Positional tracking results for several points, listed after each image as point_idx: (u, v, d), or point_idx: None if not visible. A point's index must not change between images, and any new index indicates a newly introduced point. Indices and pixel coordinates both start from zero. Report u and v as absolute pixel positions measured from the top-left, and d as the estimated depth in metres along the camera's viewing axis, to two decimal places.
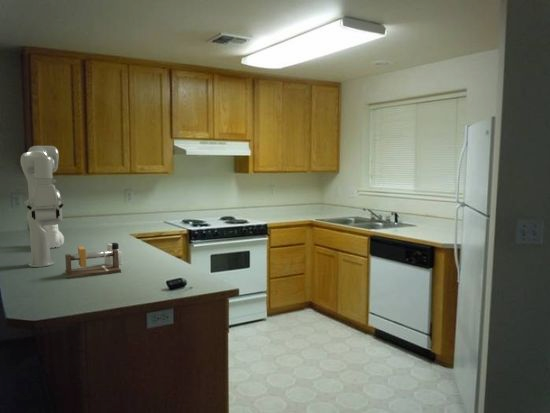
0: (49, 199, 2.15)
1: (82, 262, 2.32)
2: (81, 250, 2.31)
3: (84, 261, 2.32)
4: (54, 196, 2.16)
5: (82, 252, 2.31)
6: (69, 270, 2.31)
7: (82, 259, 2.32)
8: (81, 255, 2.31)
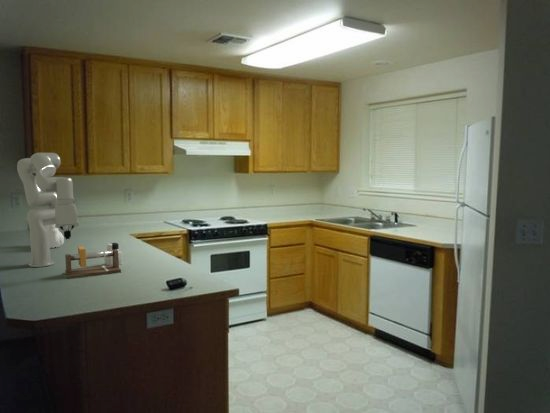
0: (70, 218, 2.29)
1: (82, 262, 2.32)
2: (81, 250, 2.31)
3: (84, 261, 2.32)
4: (75, 215, 2.30)
5: (82, 252, 2.31)
6: (69, 270, 2.31)
7: (82, 259, 2.32)
8: (81, 255, 2.31)
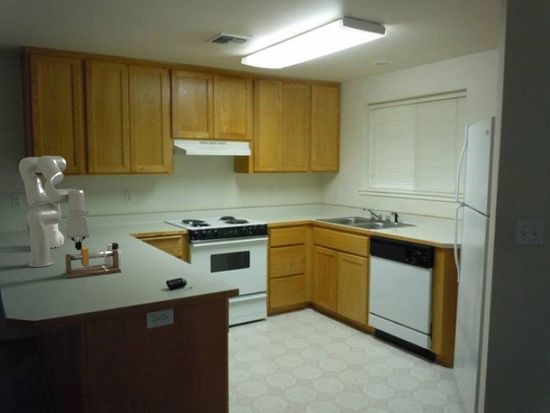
0: (82, 229, 2.32)
1: (85, 262, 2.32)
2: (84, 250, 2.32)
3: (87, 261, 2.33)
4: (86, 226, 2.33)
5: (85, 252, 2.32)
6: (69, 270, 2.31)
7: (85, 259, 2.32)
8: (84, 255, 2.32)
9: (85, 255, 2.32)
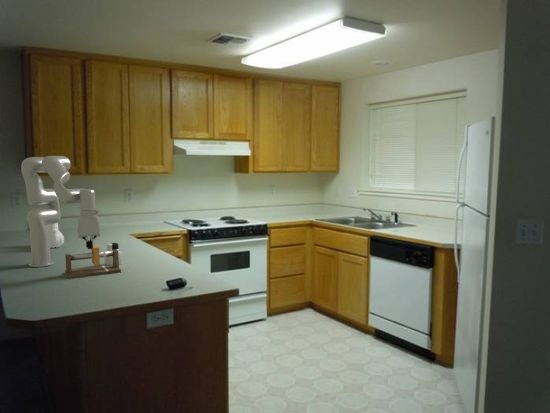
0: (93, 229, 2.35)
1: (96, 261, 2.35)
2: (95, 249, 2.34)
3: (98, 260, 2.35)
4: (97, 226, 2.36)
5: (96, 251, 2.35)
6: (69, 270, 2.31)
7: (96, 258, 2.35)
8: (95, 254, 2.34)
9: (96, 254, 2.35)
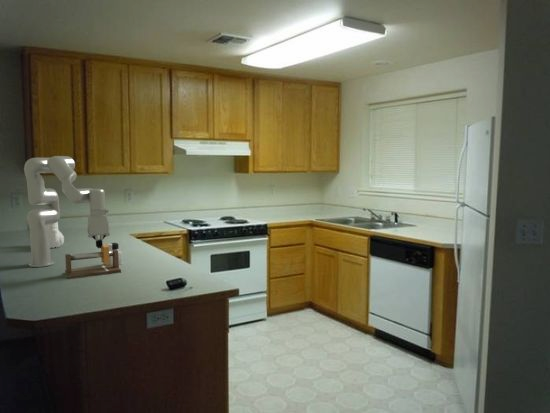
0: (102, 228, 2.37)
1: (105, 259, 2.37)
2: (105, 248, 2.37)
3: (107, 259, 2.38)
4: (107, 225, 2.38)
5: (106, 250, 2.37)
6: (69, 270, 2.31)
7: (105, 257, 2.37)
8: (105, 253, 2.37)
9: (106, 253, 2.37)
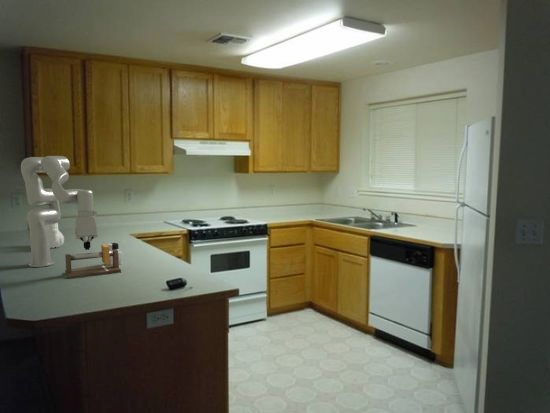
0: (90, 229, 2.35)
1: (106, 259, 2.37)
2: (105, 248, 2.37)
3: (108, 259, 2.38)
4: (95, 226, 2.36)
5: (106, 250, 2.37)
6: (69, 270, 2.31)
7: (106, 257, 2.37)
8: (105, 253, 2.37)
9: (106, 253, 2.37)
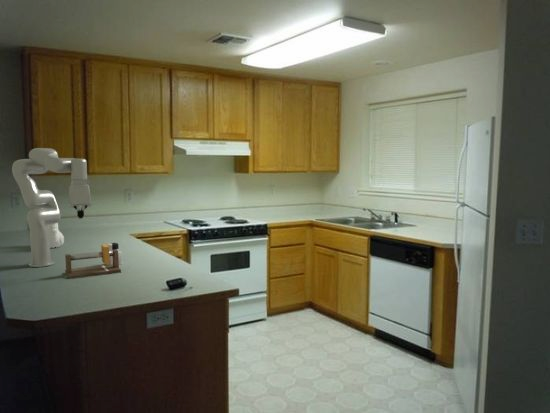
0: (84, 198, 2.36)
1: (106, 259, 2.37)
2: (105, 248, 2.37)
3: (108, 259, 2.38)
4: (88, 195, 2.37)
5: (106, 250, 2.37)
6: (69, 270, 2.31)
7: (106, 257, 2.37)
8: (105, 253, 2.37)
9: (106, 253, 2.37)
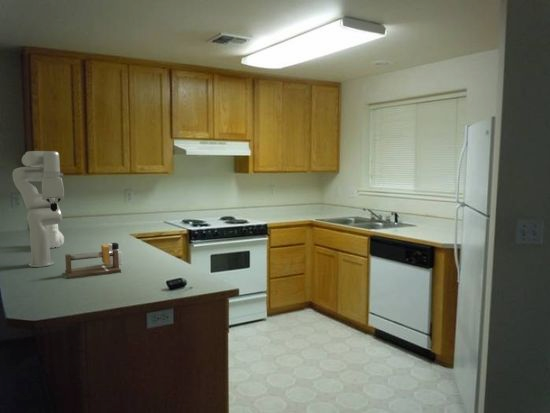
0: (57, 191, 2.35)
1: (106, 259, 2.37)
2: (105, 248, 2.37)
3: (108, 259, 2.38)
4: (61, 188, 2.36)
5: (106, 250, 2.37)
6: (69, 270, 2.31)
7: (106, 257, 2.37)
8: (105, 253, 2.37)
9: (106, 253, 2.37)
